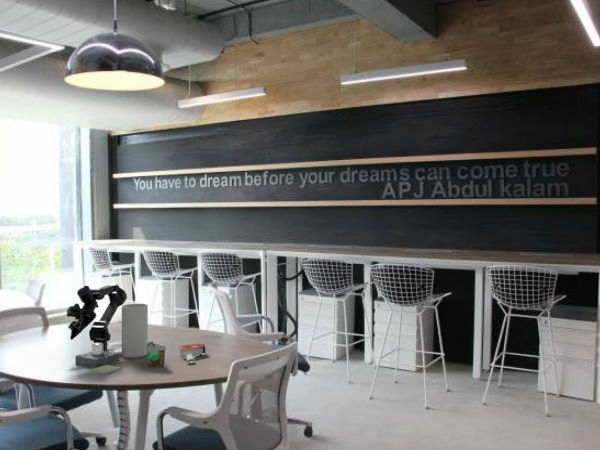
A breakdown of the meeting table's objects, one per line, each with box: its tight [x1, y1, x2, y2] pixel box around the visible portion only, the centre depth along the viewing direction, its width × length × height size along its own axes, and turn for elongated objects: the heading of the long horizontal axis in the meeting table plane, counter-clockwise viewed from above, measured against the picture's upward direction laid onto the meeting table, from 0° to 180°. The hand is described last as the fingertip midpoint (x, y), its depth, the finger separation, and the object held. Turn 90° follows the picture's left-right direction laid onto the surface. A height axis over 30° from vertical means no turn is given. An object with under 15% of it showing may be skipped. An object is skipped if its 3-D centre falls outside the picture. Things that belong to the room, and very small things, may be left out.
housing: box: [75, 350, 120, 369], centre depth 269 cm, size 14×14×4 cm
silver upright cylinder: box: [91, 342, 103, 356], centre depth 269 cm, size 5×5×9 cm
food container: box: [146, 340, 167, 367], centre depth 265 cm, size 12×6×10 cm, turn 45°
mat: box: [90, 364, 121, 375], centre depth 257 cm, size 9×9×1 cm
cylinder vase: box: [121, 303, 149, 359], centre depth 283 cm, size 12×12×25 cm
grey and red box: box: [178, 343, 206, 364], centre depth 279 cm, size 18×5×20 cm
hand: (75, 335), depth 264 cm, fingers open, 9 cm apart
